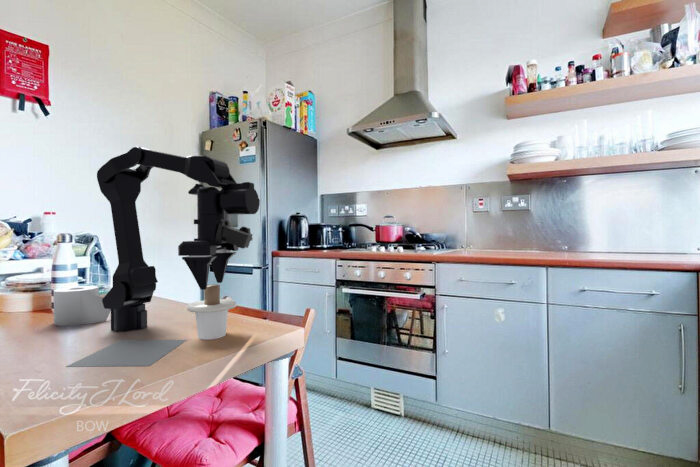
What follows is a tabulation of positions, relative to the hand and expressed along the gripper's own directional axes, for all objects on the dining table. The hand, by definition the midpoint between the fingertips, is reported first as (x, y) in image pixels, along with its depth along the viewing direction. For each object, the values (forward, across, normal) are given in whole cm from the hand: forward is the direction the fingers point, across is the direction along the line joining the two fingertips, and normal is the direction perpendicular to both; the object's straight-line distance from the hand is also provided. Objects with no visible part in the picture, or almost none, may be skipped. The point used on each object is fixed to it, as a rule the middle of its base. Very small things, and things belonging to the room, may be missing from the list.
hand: (212, 285), depth 75 cm
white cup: (+12, 0, 0) cm, 12 cm away
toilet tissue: (+12, +16, +41) cm, 45 cm away
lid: (+5, 0, 0) cm, 5 cm away
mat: (+12, -10, +11) cm, 19 cm away
